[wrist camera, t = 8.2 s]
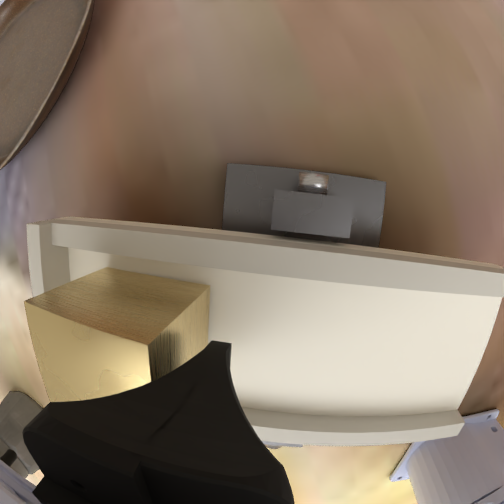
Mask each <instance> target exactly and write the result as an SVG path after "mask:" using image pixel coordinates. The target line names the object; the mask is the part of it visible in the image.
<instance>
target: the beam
mask: <svg viewBox="0 0 504 504" xmlns="http://www.w3.org/2000/svg"><path fill="white" fill-rule="evenodd" d="M27 245H28V259H29V270H30V279H31V287H32V295H33V297H35V296H37V295H40V294H42V293H44V292H47V291H49V290H51V289H54V288H56V287H59V286H61V285H63V284H66V283H68V282H71V281H73V280H76V279H78V278H80V277H83V276H85V275H88V274H90V273H93V272H95V271H98V270H100V269H103V268H105V267H110V268H115V269H120V270H125V271H130V272H136V273H141V274H146V275H152V276H158V277H163V278H169V279H175V280H180V281H186V282H192V283H198V284H205V285H210V304H209V327H208V344H209V343H210V342H211V341H212V340H214V341H220V342H227V343H232V345H231V346H232V348H231V363H230V371H231V377H232V381H233V385H234V388H235V391H236V394H237V397H238V400H239V402H240V405H241V407H242V409H243V411H244V413H245V415H246V417H247V419H248V421H249V422H250V424H251V426H252V427H253V429H254V431H255V432H256V434H257V435H258V437H259V438H260V440H261V441H268V442H277V443H287V444H300V445H317V446H373V445H390V444H402V443H412V442H420V441H428V440H435V439H441V438H447V437H452V436H457V435H458V434H459V432H460V430H461V429H462V427H463V426H464V424H465V421H464V419H463V418H462V416H461V415H460V413H459V411H458V408H459V406H460V404H461V402H462V400H463V398H464V396H465V394H466V392H467V390H468V388H469V386H470V384H471V382H472V379H473V377H474V375H475V373H476V370H477V368H478V366H479V363H480V361H481V359H482V356H483V354H484V351H485V349H486V346H487V343H488V341H489V338H490V335H491V332H492V329H493V326H494V323H495V320H496V317H497V314H498V310H499V307H500V303H501V300H502V297H504V268H503V267H501V266H499V265H496V264H491V263H485V262H478V261H471V260H464V259H457V258H450V257H443V256H436V255H429V254H422V253H414V252H407V251H399V250H392V249H384V248H376V247H368V246H360V245H352V244H344V243H335V242H327V241H319V240H310V239H301V238H292V237H284V236H275V235H265V234H256V233H247V232H237V231H227V230H217V229H207V228H197V227H187V226H176V225H165V224H154V223H143V222H131V221H120V220H107V219H95V218H82V217H64V218H57V219H51V220H45V221H39V222H34V223H28V224H27Z"/></svg>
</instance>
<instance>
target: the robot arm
mask: <svg viewBox="0 0 504 504" xmlns="http://www.w3.org/2000/svg"><path fill="white" fill-rule="evenodd" d="M231 345H232V343H227V342H220V341H214V340H212V341H211V342H210V343H209V344H208V345H207V346H206V347H205V348H204V349H203V350H202V351H201V352H199V353H198V354H197V355H195V356H194V357H192V358H191V359H190V360H188V361H187V362H185V363H184V364H182V365H181V366H179V367H178V368H176V369H174V370H173V371H171V372H169V373H168V374H166V375H164V376H162V377H160V378H158V379H156V380H154V381H152V382H149V383H147V384H145V385H142V386H140V387H137V388H134V389H130V390H127V391H124V392H121V393H118V394H114V395H110V396H105V397H100V398H94V399H88V400H80V401H65V402H50V403H49V404H48V405H47V406H46V407H45V408H44V409H43V410H42V411H41V412H40V413H39V414H38V415H36V416H35V417H34V418H33V419H32V420H31V421H30V422H29V423H28V424H27V425H26V426H25V427H24V429H23V432H22V434H23V439H24V443H25V445H26V447H27V449H28V451H29V453H30V454H31V456H32V457H33V459H34V461H35V462H36V464H37V465H38V467H39V468H40V470H41V471H42V473H43V474H44V477H43V479H42V480H41V481H40V482H39V484H38V485H37V486H35V485H34V484H32V483H31V482H29V481H28V480H26V479H25V478H24V477H22V476H21V475H19V474H18V473H17V472H15V471H14V470H13V469H11V468H10V467H9V466H8V465H6V464H5V463H4V462H3V461H1V460H0V504H294V498H293V494H292V490H291V486H290V483H289V480H288V477H287V475H286V472H285V469H284V467H283V465H282V464H281V463H280V462H279V461H278V460H277V459H276V458H275V457H274V456H273V455H272V454H271V452H270V451H269V450H268V449H267V448H266V446H265V445H264V444H263V442H262V441H261V440H260V438H259V437H258V435H257V434H256V432H255V431H254V429H253V427H252V426H251V424H250V422H249V421H248V419H247V417H246V415H245V413H244V411H243V409H242V407H241V405H240V402H239V400H238V397H237V394H236V391H235V388H234V385H233V381H232V377H231V371H230V363H231V348H232V346H231ZM498 414H499V410H498V409H494V410H490V411H486V412H482V413H478V414H474V415H469V416H464V417H462V418H463V419H464V421H465V424H464V426H463V427H462V429H461V430H460V432H459V434H458V435H457V436H452V437H447V438H441V439H435V440H428V441H420V442H412V444H411V446H410V447H409V449H408V450H407V452H406V454H405V455H404V457H403V458H402V460H401V461H400V463H399V464H398V466H397V467H396V469H395V470H394V472H393V473H392V475H391V476H390V481H399V480H405V479H410V482H411V485H412V488H413V491H414V494H415V497H416V500H417V503H418V504H504V429H503V428H502V427H501V425H500V424H499V423H498V421H497V420H496V418H497V416H498Z"/></svg>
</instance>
